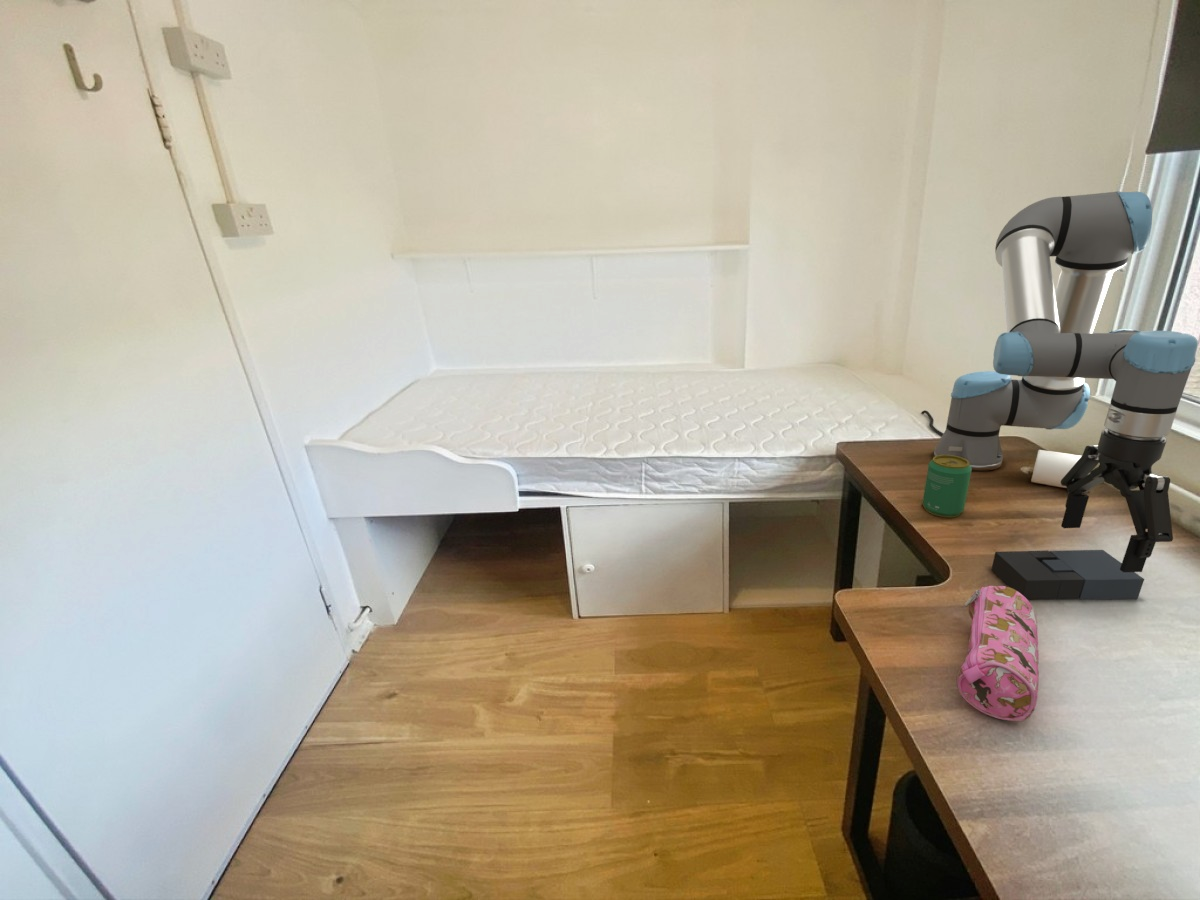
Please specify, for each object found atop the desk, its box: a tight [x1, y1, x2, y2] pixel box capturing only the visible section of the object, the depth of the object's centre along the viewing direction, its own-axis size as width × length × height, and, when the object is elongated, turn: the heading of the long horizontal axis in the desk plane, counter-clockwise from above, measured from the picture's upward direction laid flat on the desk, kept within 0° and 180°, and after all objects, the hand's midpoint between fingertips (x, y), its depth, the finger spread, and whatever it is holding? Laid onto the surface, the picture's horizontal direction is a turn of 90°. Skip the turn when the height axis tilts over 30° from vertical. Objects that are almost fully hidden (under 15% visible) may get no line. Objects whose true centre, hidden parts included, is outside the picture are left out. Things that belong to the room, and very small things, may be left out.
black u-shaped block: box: [991, 550, 1084, 601], centre depth 97 cm, size 9×9×4 cm
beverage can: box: [922, 455, 973, 518], centre depth 122 cm, size 8×8×12 cm
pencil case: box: [955, 585, 1040, 722], centre depth 79 cm, size 21×9×9 cm, turn 146°
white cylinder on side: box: [1030, 449, 1090, 489], centre depth 130 cm, size 12×10×8 cm
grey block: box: [1042, 549, 1145, 601], centre depth 96 cm, size 9×12×4 cm
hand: (1098, 547), depth 95 cm, fingers open, 13 cm apart
